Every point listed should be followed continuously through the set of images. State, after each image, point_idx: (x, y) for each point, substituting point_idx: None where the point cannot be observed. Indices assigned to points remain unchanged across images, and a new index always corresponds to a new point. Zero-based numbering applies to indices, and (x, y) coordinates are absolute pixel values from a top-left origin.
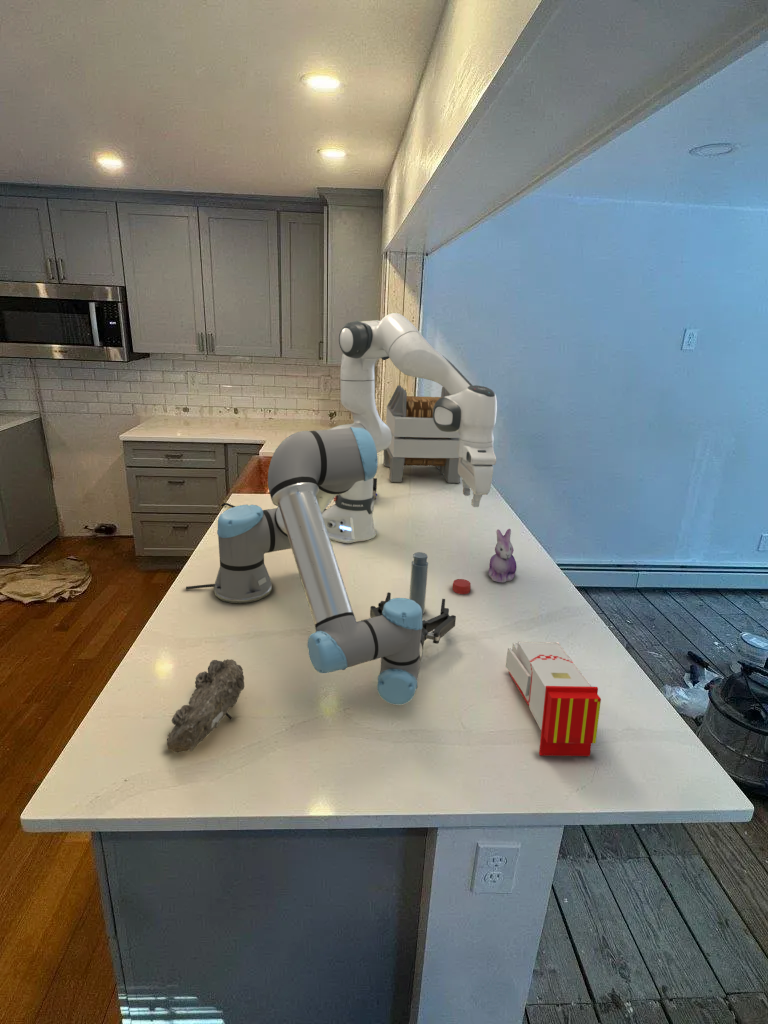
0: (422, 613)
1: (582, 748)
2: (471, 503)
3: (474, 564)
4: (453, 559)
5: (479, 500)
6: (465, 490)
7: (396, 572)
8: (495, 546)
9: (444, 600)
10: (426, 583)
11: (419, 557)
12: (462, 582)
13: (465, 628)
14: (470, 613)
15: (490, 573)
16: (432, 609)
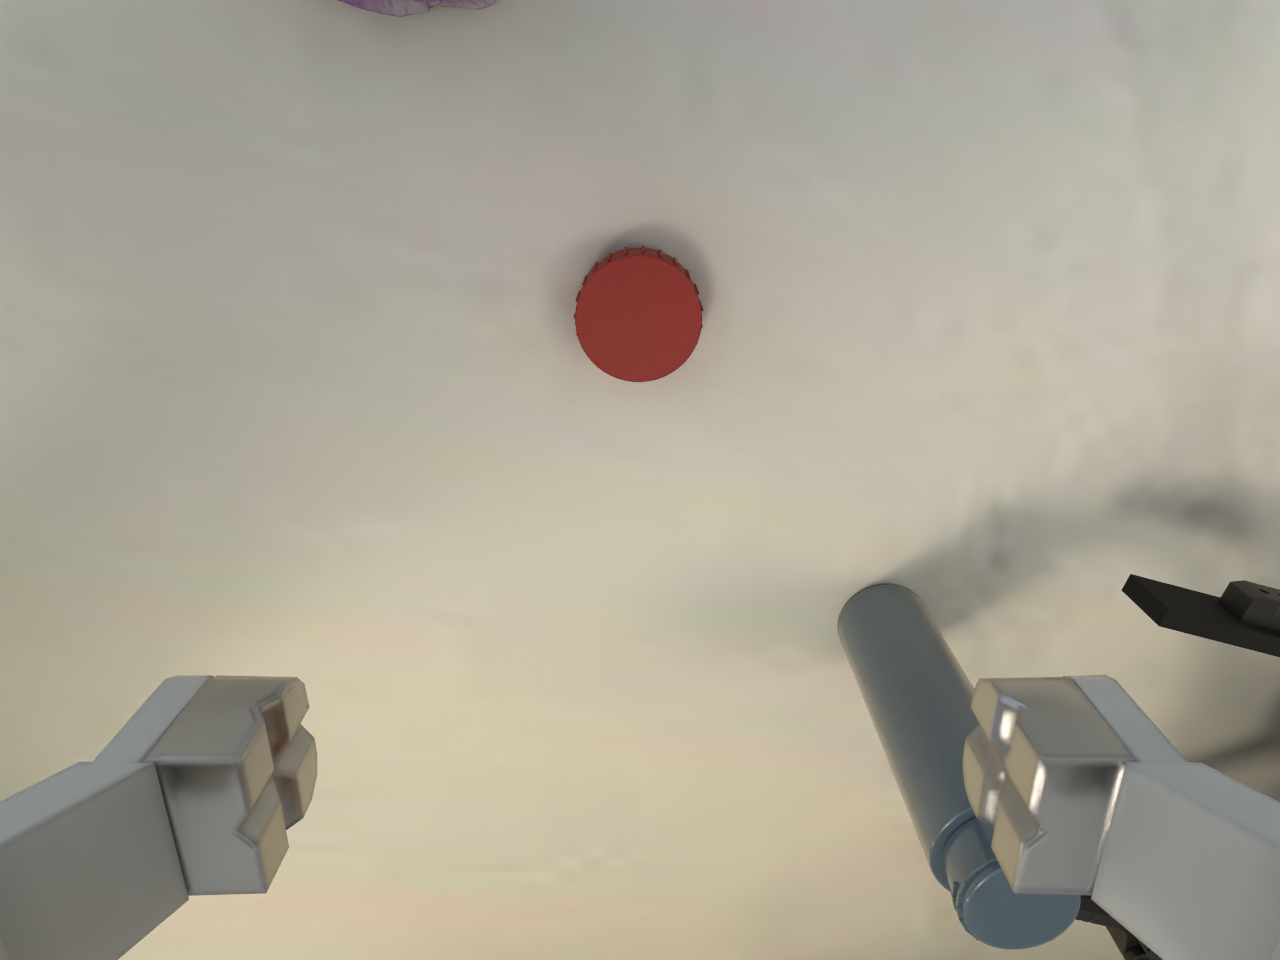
0: (922, 603)
1: None
2: (989, 812)
3: (180, 81)
4: (112, 243)
5: (1210, 781)
6: (267, 848)
7: (389, 661)
8: None
9: (1185, 617)
10: (967, 699)
11: (1070, 920)
12: (634, 315)
13: (1109, 397)
14: (948, 323)
15: (409, 6)
16: (867, 536)
